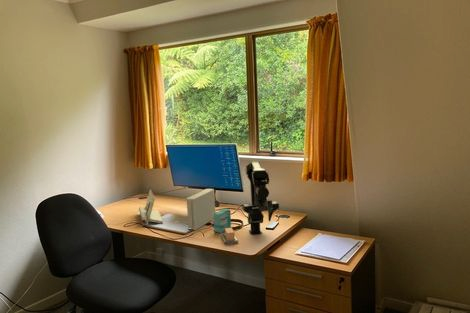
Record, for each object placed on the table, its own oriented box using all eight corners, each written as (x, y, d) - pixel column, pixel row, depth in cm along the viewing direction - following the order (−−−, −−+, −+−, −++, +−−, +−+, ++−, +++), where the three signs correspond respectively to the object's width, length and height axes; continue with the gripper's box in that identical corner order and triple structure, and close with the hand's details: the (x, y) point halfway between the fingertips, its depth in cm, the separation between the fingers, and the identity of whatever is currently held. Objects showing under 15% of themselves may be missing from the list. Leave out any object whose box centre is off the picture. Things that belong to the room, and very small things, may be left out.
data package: (220, 233, 219) (219, 214, 218) (214, 232, 222) (213, 213, 220) (231, 227, 229) (230, 209, 228) (225, 226, 232) (224, 208, 230)
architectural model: (131, 223, 236) (140, 191, 235) (129, 211, 263) (137, 182, 262) (162, 228, 242) (170, 198, 242) (157, 216, 270) (165, 188, 269)
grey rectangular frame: (221, 237, 213) (221, 234, 213) (234, 236, 214) (234, 233, 214) (224, 244, 202) (224, 242, 202) (238, 243, 203) (238, 240, 203)
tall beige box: (225, 238, 212) (224, 228, 211) (232, 237, 212) (231, 227, 212) (227, 243, 204) (227, 233, 203) (234, 242, 205) (234, 232, 204)
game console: (187, 229, 229) (185, 198, 226) (207, 216, 253) (206, 188, 251) (195, 230, 226) (193, 199, 224) (215, 217, 251) (214, 189, 248)
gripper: (246, 199, 183) (247, 229, 185) (282, 195, 186) (282, 225, 189) (241, 193, 193) (242, 222, 196) (275, 190, 197) (276, 218, 200)
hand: (261, 222), depth 195 cm, fingers open, 9 cm apart
